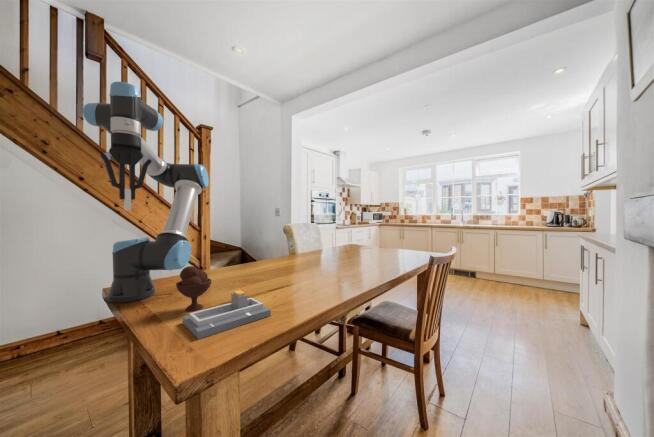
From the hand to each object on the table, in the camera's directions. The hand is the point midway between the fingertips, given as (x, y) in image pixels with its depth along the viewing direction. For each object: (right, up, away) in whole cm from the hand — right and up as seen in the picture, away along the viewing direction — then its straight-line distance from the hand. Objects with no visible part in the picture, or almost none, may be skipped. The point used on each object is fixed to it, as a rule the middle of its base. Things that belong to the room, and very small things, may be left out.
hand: (127, 210), depth 80 cm
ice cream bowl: (+16, -34, +9) cm, 39 cm away
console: (+32, -34, 0) cm, 47 cm away
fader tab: (+34, -32, +2) cm, 47 cm away
